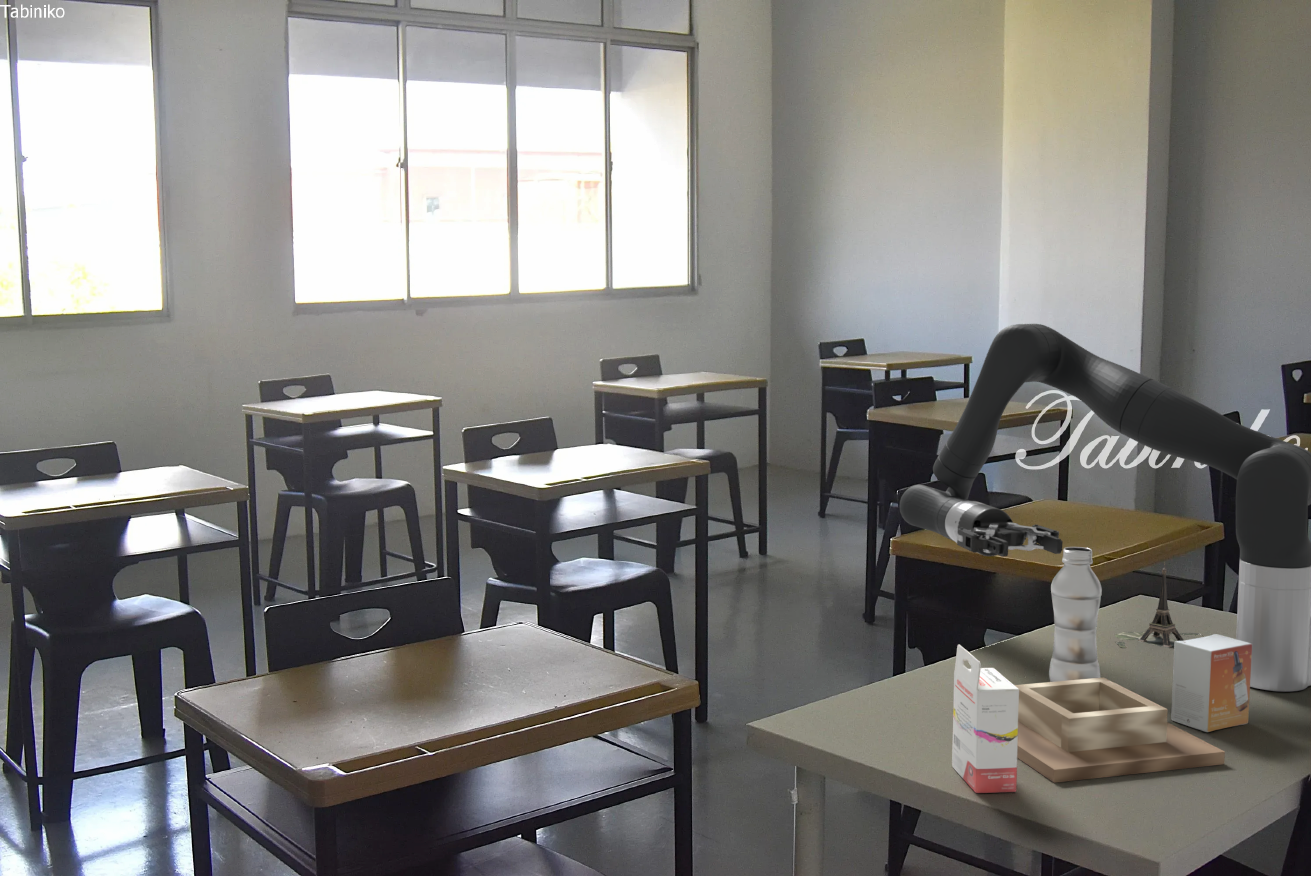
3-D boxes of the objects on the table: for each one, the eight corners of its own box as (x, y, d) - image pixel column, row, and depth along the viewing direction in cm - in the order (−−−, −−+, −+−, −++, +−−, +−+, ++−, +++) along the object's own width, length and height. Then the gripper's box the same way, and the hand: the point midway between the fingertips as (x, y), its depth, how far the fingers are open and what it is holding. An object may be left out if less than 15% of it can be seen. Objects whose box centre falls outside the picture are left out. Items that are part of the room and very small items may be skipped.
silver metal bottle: (1103, 701, 168) (1107, 554, 166) (1050, 698, 169) (1054, 553, 167) (1096, 687, 174) (1100, 545, 172) (1045, 684, 176) (1049, 544, 174)
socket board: (1112, 705, 167) (1113, 664, 166) (1224, 764, 145) (1226, 717, 145) (961, 719, 161) (961, 677, 161) (1054, 782, 140) (1055, 734, 140)
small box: (1206, 734, 156) (1210, 651, 154) (1169, 720, 160) (1172, 640, 159) (1250, 723, 159) (1253, 642, 158) (1212, 711, 164) (1215, 632, 163)
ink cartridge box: (1019, 793, 137) (1022, 662, 136) (975, 794, 137) (977, 663, 135) (992, 764, 146) (994, 640, 144) (950, 766, 146) (952, 642, 144)
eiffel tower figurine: (1201, 636, 202) (1204, 555, 201) (1222, 654, 192) (1225, 568, 191) (1104, 634, 204) (1107, 553, 202) (1120, 651, 194) (1123, 566, 192)
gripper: (937, 505, 194) (989, 524, 179) (1020, 501, 198) (1078, 520, 182) (935, 552, 195) (987, 576, 180) (1018, 548, 199) (1076, 571, 183)
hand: (1033, 548), depth 181 cm, fingers open, 8 cm apart
